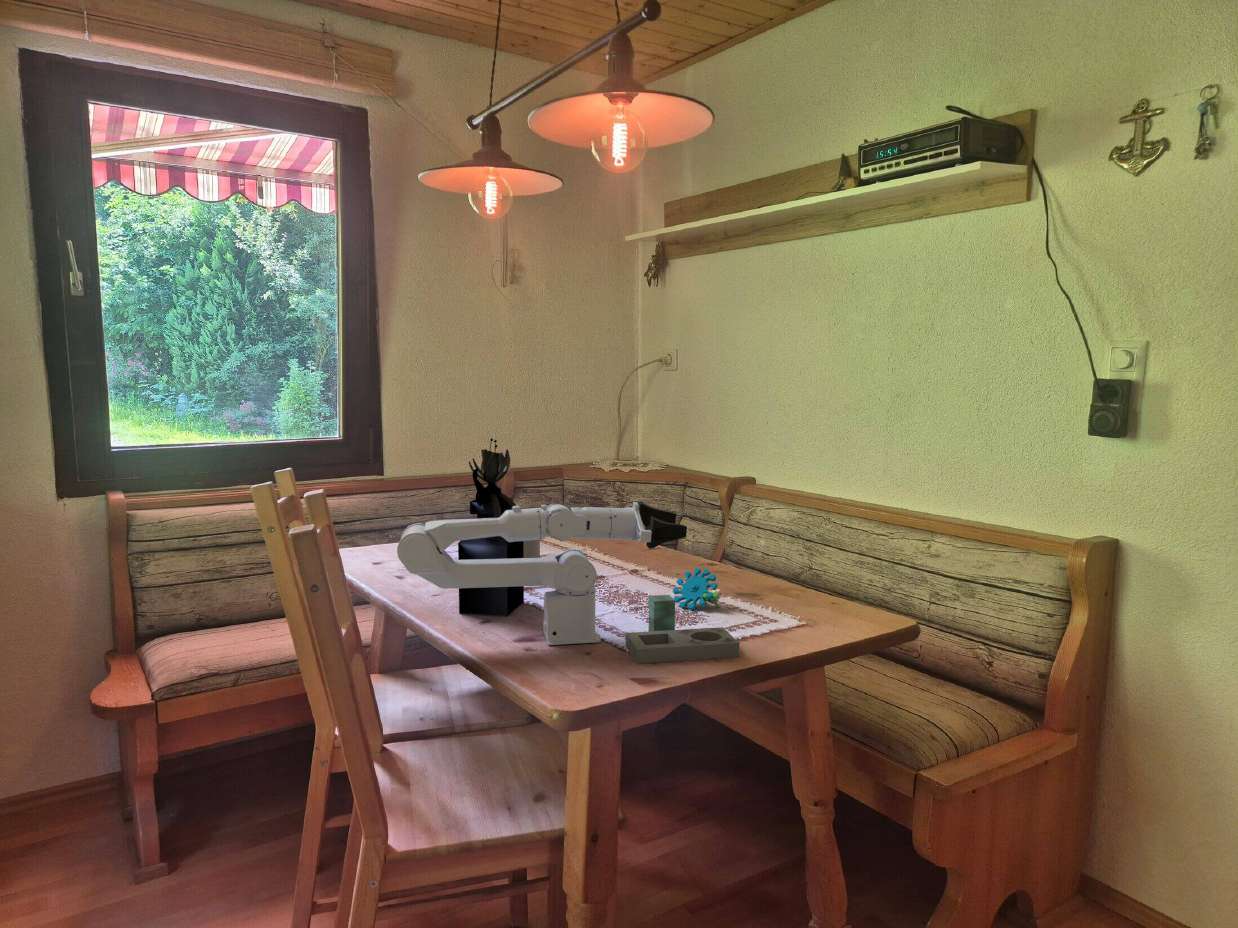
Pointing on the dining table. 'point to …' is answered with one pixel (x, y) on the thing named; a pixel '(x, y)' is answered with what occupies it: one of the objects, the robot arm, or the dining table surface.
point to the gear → (697, 589)
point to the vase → (490, 540)
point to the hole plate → (681, 645)
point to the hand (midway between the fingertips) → (680, 525)
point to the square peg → (661, 613)
